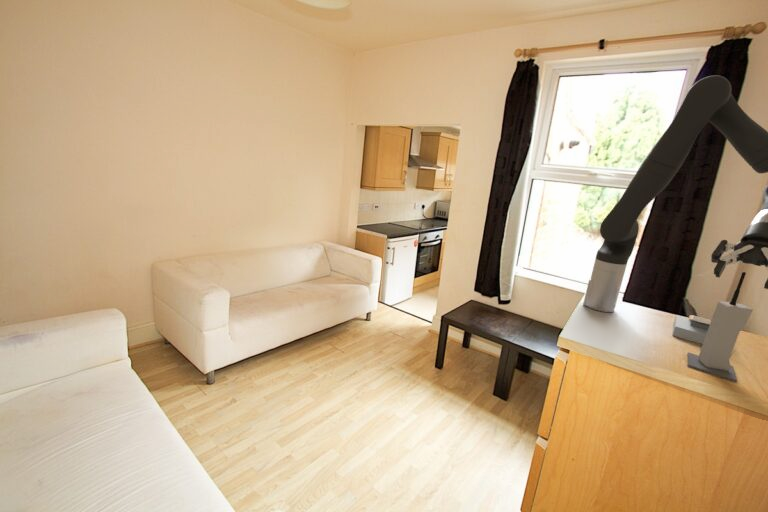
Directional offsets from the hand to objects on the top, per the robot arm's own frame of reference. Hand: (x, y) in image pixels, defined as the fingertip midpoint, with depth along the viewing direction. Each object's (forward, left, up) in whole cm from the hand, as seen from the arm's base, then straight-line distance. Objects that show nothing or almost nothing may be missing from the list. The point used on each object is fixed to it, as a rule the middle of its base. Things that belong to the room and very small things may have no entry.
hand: (741, 280), depth 83 cm
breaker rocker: (-2, +23, -19) cm, 30 cm away
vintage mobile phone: (+1, +1, -23) cm, 23 cm away
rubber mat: (0, +1, -23) cm, 23 cm away
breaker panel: (-2, +23, -23) cm, 33 cm away
